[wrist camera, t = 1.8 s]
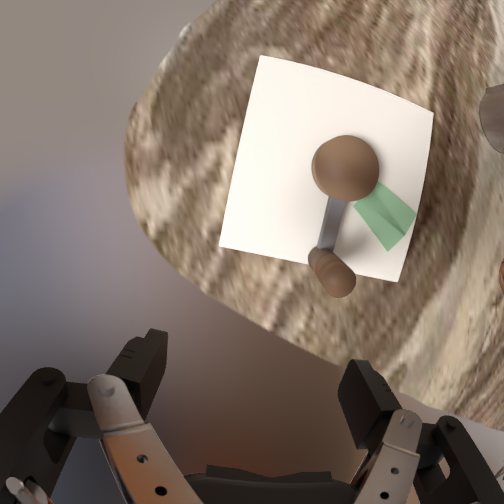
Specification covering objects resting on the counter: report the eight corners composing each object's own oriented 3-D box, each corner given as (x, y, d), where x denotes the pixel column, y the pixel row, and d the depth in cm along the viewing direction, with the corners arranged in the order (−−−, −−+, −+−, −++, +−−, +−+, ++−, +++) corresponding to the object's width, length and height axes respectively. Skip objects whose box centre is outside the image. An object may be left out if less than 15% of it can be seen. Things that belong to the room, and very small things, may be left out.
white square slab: (259, 65, 27) (260, 54, 24) (420, 117, 28) (434, 112, 25) (221, 239, 32) (218, 246, 28) (386, 274, 33) (398, 283, 29)
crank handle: (318, 131, 25) (339, 116, 18) (374, 148, 26) (409, 141, 19) (288, 264, 28) (298, 291, 22) (343, 275, 29) (368, 303, 22)
